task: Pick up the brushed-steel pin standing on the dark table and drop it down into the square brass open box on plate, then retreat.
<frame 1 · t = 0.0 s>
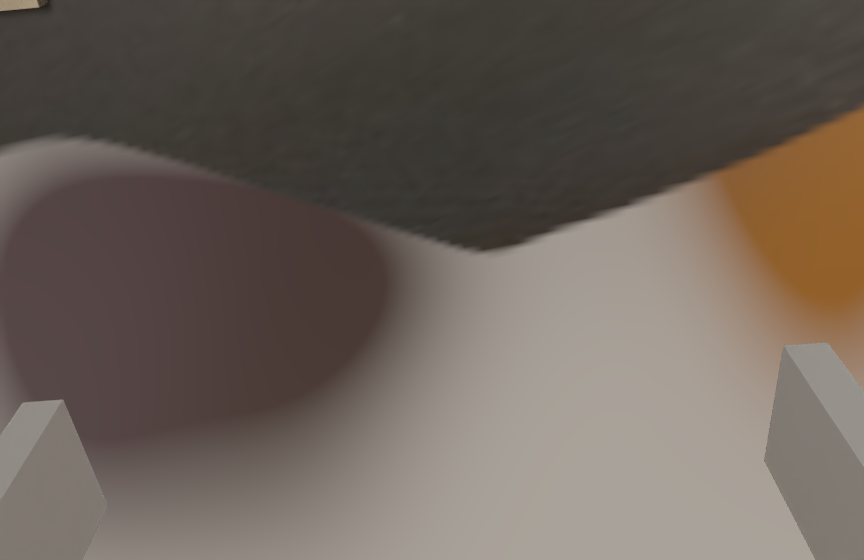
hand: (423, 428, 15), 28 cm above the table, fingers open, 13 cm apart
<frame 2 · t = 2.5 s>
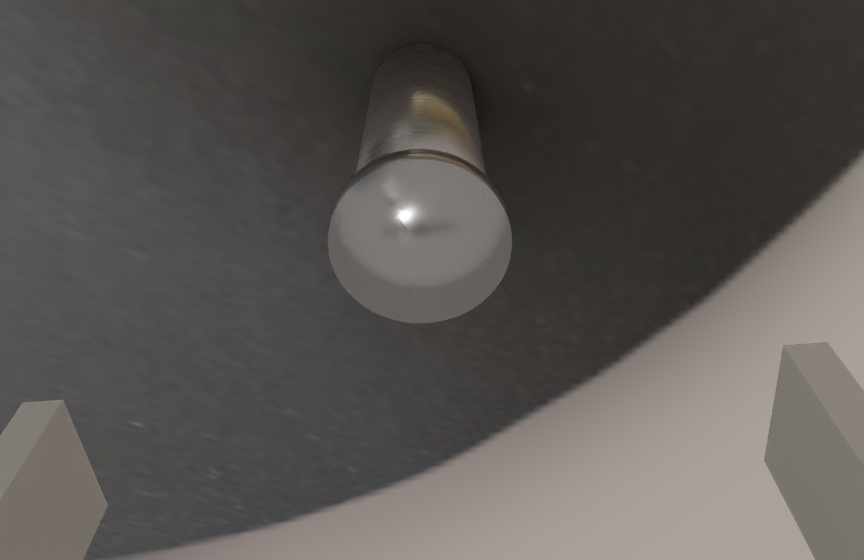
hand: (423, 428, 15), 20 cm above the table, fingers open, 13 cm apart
pin: (422, 93, 32), on the table
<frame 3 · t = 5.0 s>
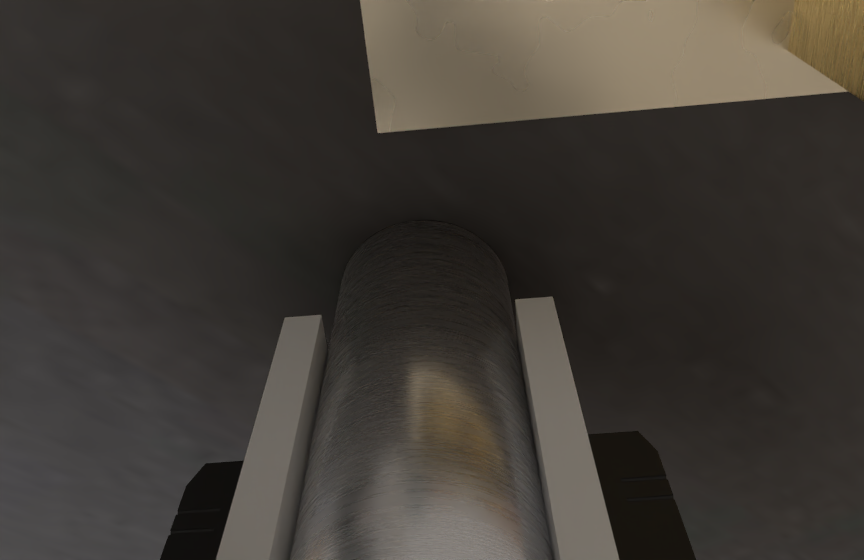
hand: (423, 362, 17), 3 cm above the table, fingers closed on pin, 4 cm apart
pin: (424, 295, 19), on the table, touching gripper
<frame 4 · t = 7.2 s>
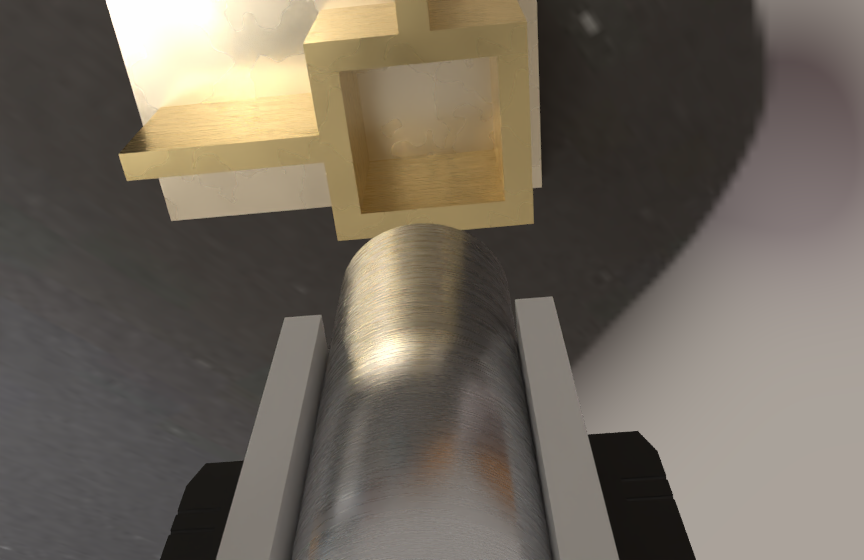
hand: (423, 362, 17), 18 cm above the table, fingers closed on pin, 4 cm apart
pin: (424, 298, 19), point 16 cm above the table, touching gripper
open box on plate: (425, 86, 32), on the table
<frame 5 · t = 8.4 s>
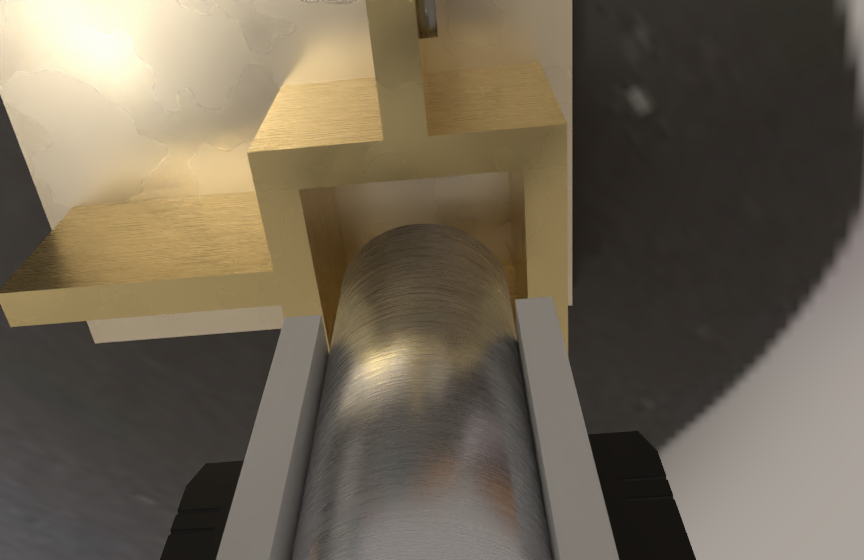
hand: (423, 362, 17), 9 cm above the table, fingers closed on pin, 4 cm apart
pin: (424, 298, 19), point 7 cm above the table, touching gripper
open box on plate: (422, 178, 25), on the table
when the fingers open (7 cm above the table, at t = 9.5 s): pin drops 2 cm, resting on open box on plate.
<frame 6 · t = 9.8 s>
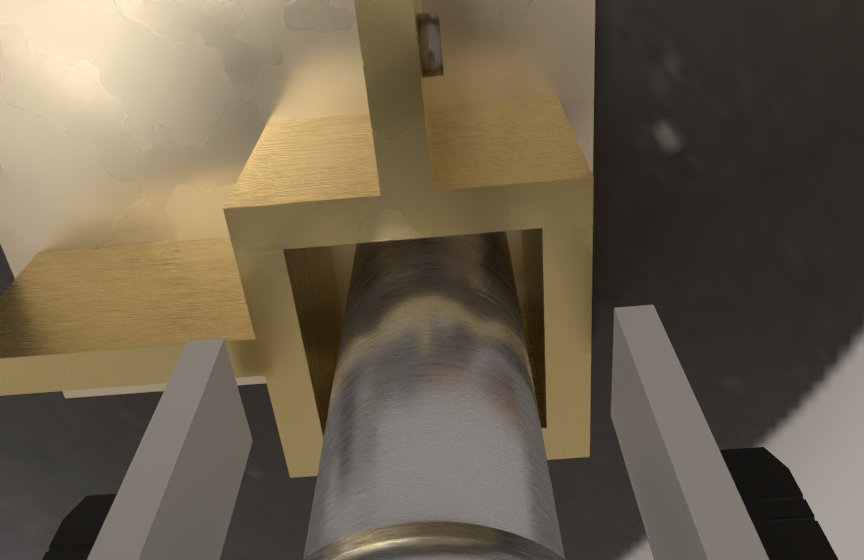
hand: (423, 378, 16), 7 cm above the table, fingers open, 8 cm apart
pin: (432, 239, 21), point 1 cm above the table, touching open box on plate
open box on plate: (425, 221, 22), on the table
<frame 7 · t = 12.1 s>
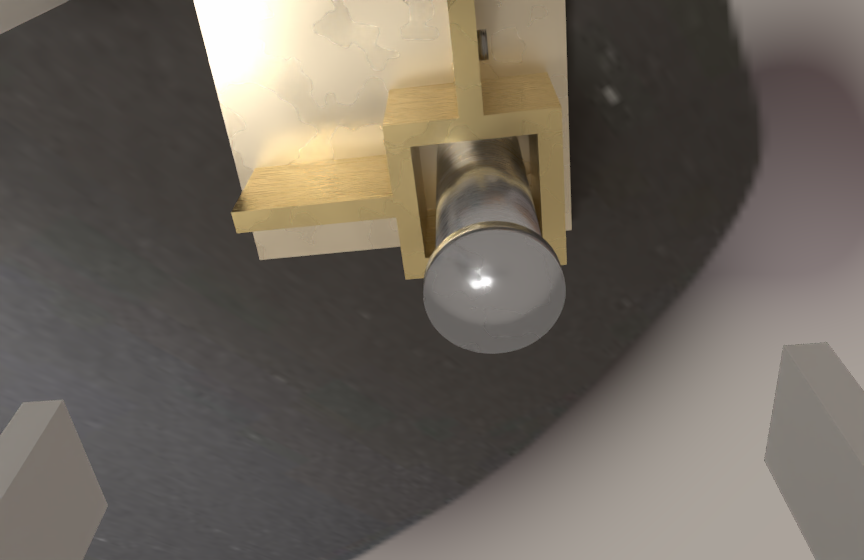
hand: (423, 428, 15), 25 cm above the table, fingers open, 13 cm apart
pin: (478, 156, 38), point 1 cm above the table, touching open box on plate
open box on plate: (473, 147, 39), on the table
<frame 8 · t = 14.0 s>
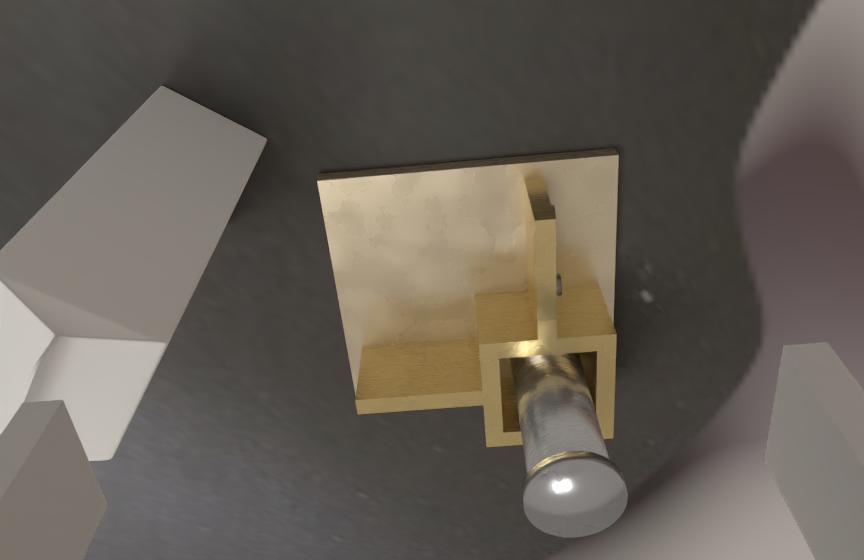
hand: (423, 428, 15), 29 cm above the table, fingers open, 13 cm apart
milk: (196, 156, 43), on the table
pin: (540, 341, 48), point 1 cm above the table, touching open box on plate
open box on plate: (535, 331, 48), on the table
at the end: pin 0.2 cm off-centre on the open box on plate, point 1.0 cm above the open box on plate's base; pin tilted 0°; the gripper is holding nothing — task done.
